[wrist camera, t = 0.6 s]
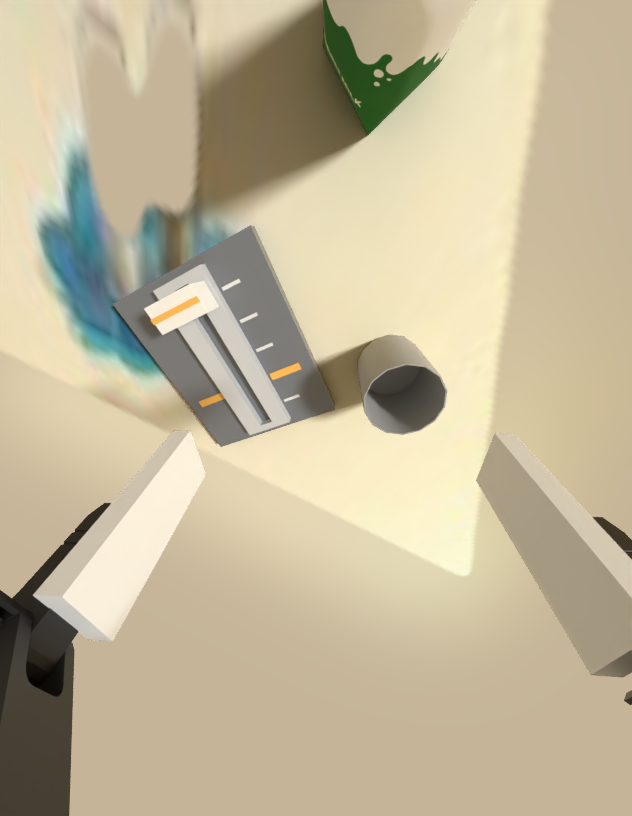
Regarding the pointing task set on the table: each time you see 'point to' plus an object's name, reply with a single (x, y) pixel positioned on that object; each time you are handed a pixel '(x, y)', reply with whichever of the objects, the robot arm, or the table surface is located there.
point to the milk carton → (388, 48)
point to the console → (234, 344)
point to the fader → (181, 307)
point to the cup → (399, 386)
